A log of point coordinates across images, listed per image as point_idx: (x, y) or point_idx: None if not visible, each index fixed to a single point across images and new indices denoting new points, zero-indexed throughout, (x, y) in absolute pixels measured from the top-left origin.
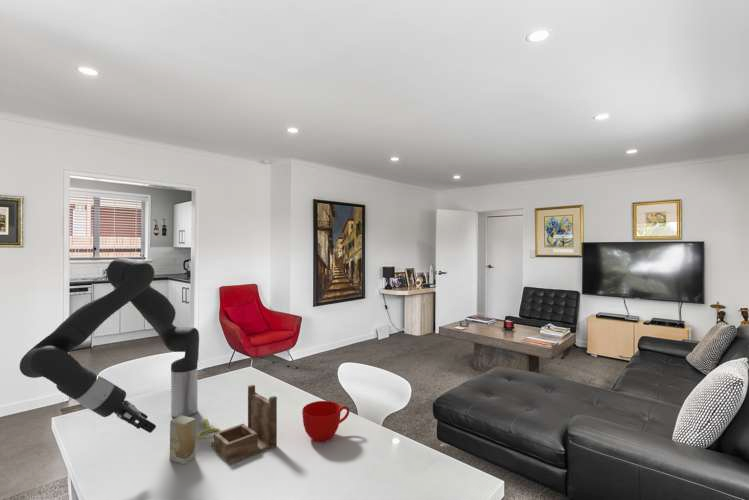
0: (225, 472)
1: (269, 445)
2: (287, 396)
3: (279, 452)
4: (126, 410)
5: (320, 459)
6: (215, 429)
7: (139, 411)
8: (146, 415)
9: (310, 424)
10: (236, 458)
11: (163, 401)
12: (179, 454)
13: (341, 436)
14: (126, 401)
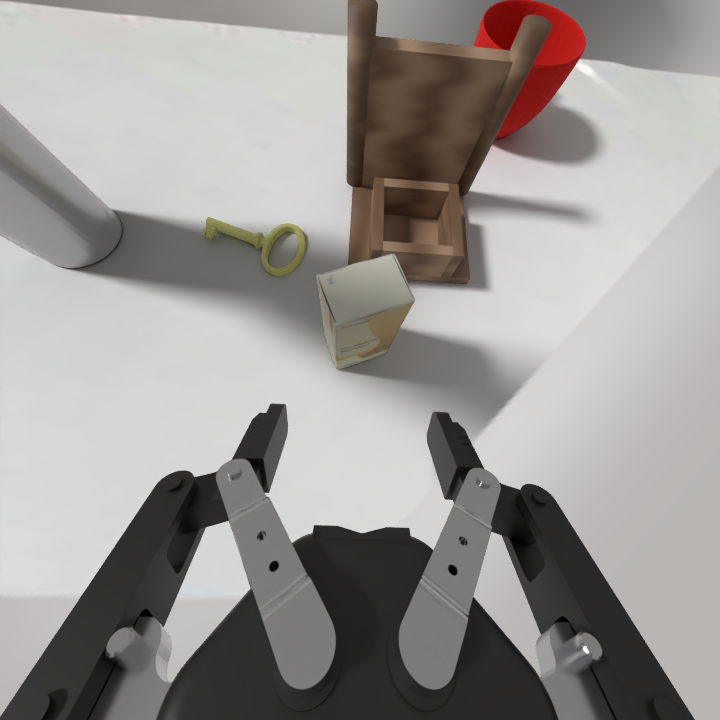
0: (487, 304)
1: (461, 196)
2: (249, 53)
3: (487, 199)
4: (558, 716)
5: (562, 170)
6: (280, 230)
7: (268, 449)
8: (283, 408)
9: (540, 95)
10: (465, 265)
11: None
12: (375, 351)
13: None
14: (323, 677)
